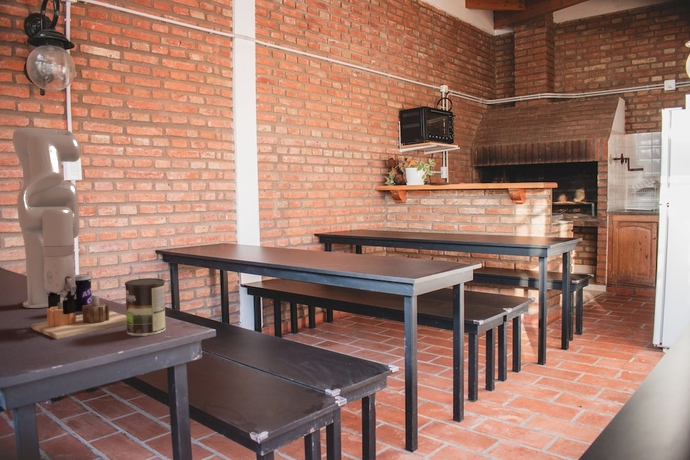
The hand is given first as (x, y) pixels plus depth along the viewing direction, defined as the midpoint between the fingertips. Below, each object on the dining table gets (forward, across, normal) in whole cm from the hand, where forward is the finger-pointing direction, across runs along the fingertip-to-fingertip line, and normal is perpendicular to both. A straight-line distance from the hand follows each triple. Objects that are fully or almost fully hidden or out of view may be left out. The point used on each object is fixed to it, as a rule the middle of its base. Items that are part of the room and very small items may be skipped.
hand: (61, 310), depth 146 cm
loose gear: (+4, 0, 0) cm, 4 cm away
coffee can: (+5, +23, +13) cm, 27 cm away
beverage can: (+5, -14, +12) cm, 19 cm away
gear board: (+5, +3, +5) cm, 7 cm away
